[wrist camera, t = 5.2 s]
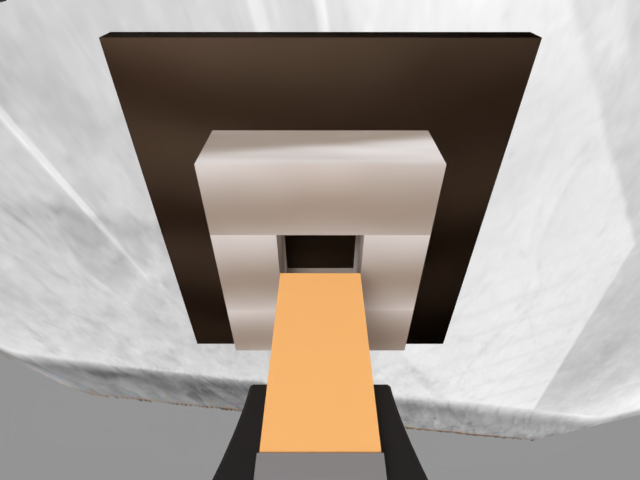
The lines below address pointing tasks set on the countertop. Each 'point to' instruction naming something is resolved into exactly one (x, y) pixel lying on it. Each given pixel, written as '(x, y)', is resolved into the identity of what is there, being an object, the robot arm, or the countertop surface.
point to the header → (320, 165)
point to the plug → (320, 384)
